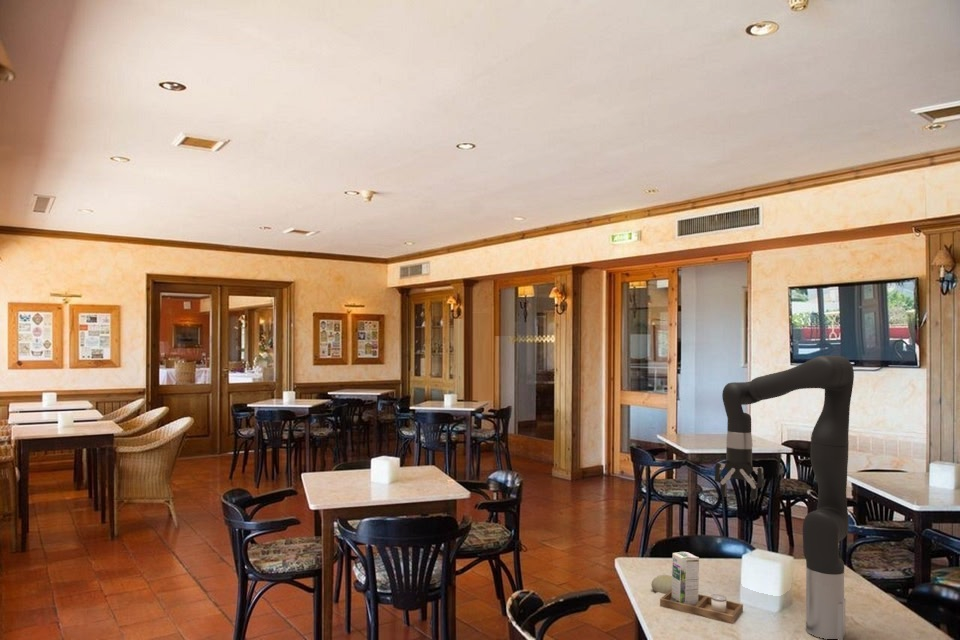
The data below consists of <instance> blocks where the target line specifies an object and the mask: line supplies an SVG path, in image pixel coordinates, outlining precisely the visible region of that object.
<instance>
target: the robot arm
mask: <svg viewBox="0 0 960 640" xmlns="http://www.w3.org/2000/svg"><path fill="white" fill-rule="evenodd" d="M854 379H855V372H854V365H852V362H850V360H849V359H848V358H847V357H845V356H841V355H818V356H817V357H814V358H811V359H809V360H807V361H805V362H803V363H801V364H798V365H796V366H794V367H791V368H789V369H785V370H781V371H778V372H774V373H770V374H769V373H768V374H764V375H760V376H757V377H755V378H753V379H751V381H745V382H744V381H743V382H738V381H737V382H736V381H735V382H729V383H726V384H725V386H724V387H723V390H722V392H721V393H722V398H721V399H722V402H723V407H724V410H725V413H726V417H727V423H726V425H727V427H726V428H727V430H726V443H725V444H726V450H725V451H726V455H725V456H726V461H725V463H722V462H721V461H718V462H717V463H715V468H714V469H715V470H714V482H716V483H719V484H720V494H721V495H722V497H725V498H726V497H727V495H728V484H727V483H728V481H729V480H730V479H731V478H732V479H734V480H737V479H738V480H741V481H744V480H745V481H746V482H747V483H748V484H749V485H750V487H751V489H750V492H751V493H750V494H751V495H750V501H751V502H754V501H756V500H757V498H758V489H759V488H760V489H761V488H762V487H764V486H765V480H764V479H765V478H764V477H765V476H764V468H763V467H762V466H760V467H758V466H757V467H756V466H755V467H754V464H753V436H752V416H751V415H750V414H749V413H747V412H745V411H744V410H743V406H744V405H745V406H746V405H752V404H756V403H759V402H761V401H764V400H770V399H773V398H779V397H782V396H784V395H787V394H789V393H791V392H793V391H797V390H801V389H802V390H803V389H821V390H824V400H823V407H822V410H821V412H820V415H819V417H818V419H817V421H816V422H815V425H814V427H813V429H812V432H811V436H810V463H811V468H812V470H813V473H814V476H815V480H816V482H817V488H818V489H817V490H818V496H817V507H816V510H812V511H811V512H808V513H807V514H806V515H805V517H804V519H803V521H802V551H803V553H802V554H803V557H804V559H805V563H806V564H805V565H806V568H805V569H806V570H805V571H806V572H805V577H806V578H805V631H806V632H807V633H808V634H809V635H811V634H812V635H811V636H813V635H814V636H813V637H816V638H819V637H820V639H822V638H824V640H827V639H839V640H844V639H843V638H845V636H844V635H846V598H845V562H844V561H843V559H841V558H840V555H839V542H841V541H842V540H844V539H845V538H846V537H847V535H848V533H849V528H850V527H849V526H850V524H849V511H848V499H847V486H848V468H849V467H848V466H849V464H848V463H849V441H850V440H849V433H850V432H849V429H850V411H851V410H850V408H851V401H852V394H853V387H854ZM724 469H725V470H726V472H727V474H725V476H724V477H723V478H722V471H723V470H724ZM753 472H754V473H755V474H756V475H757V481H755V479H754V477H753V476H752V473H753Z"/></svg>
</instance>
